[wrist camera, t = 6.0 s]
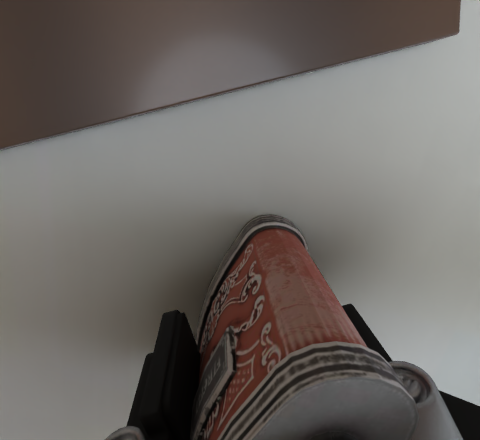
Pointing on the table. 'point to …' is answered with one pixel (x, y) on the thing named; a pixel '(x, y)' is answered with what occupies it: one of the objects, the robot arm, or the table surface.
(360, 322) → the robot arm
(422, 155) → the table surface
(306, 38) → the walnut board
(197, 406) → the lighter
